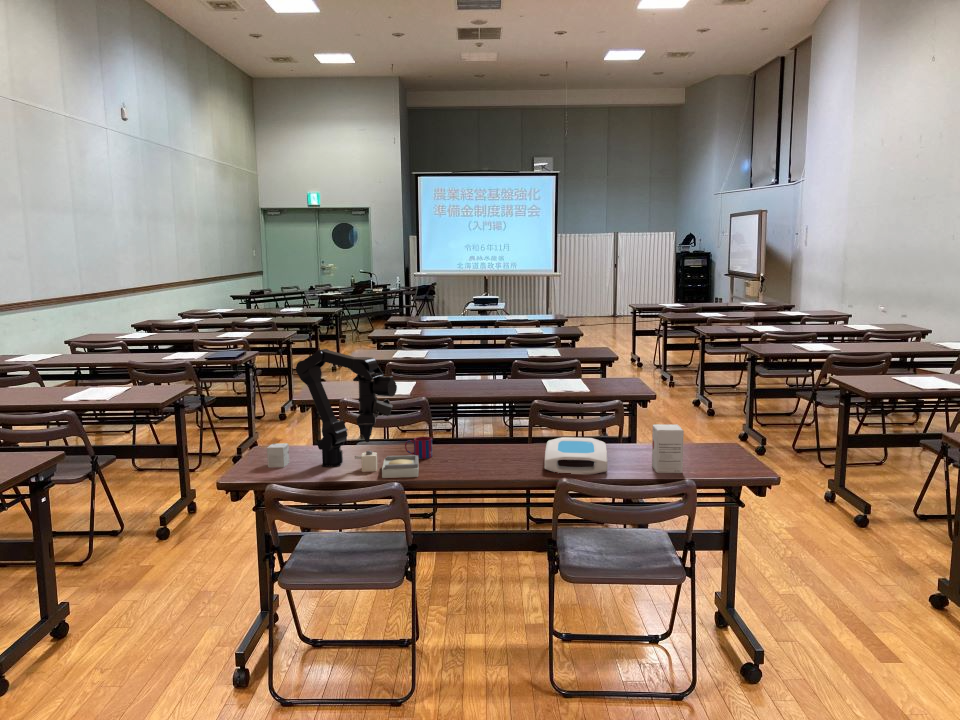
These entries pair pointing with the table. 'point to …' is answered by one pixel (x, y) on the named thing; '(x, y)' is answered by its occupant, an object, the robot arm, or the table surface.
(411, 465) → the grey tray
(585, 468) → the document scanner
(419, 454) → the mug
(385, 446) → the table surface
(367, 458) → the spout can
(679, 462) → the supplement box
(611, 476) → the table surface
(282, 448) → the skincare box
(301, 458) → the table surface
